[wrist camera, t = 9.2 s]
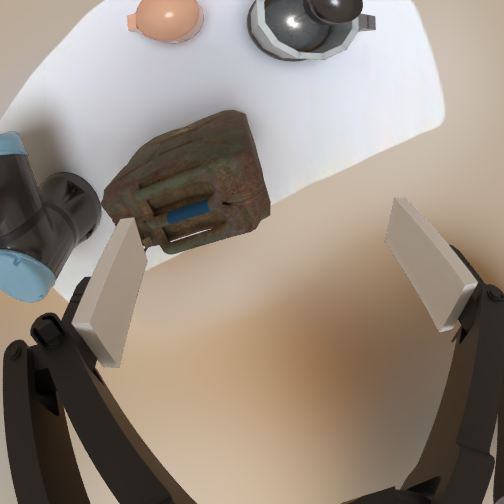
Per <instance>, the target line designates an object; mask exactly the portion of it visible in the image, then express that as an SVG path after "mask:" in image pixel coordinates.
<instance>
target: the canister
mask: <svg viewBox="0 0 504 504" xmlns="http://www.w3.org/2000/svg"><path fill="white" fill-rule="evenodd" d="M101 205H102V207H103V208H104V210H105V211H106V212H107V213H108V215H109V216H110V217H111V218H113V219H112V221H113V222H114V223H115V226H117V224H118V222H119V221H120V219H125V218H133V217H134V219H135V222H136V226H137V229H138V232H139V236H140V239H141V242H142V245H143V246H145V247H146V248H145V249H144V252H146V250H147V249H148V248H149V247H151V246H156V245H160V247H161V248H162V250H163V251H164V252H165V253H167V254H176V253H179V252H182V251H185V250H189V249H192V248H195V247H199V246H202V245H205V244H209V243H212V242H216V241H219V240H222V239H226V238H229V237H233V236H237V235H241V234H244V233H248V232H251V231H253V230H255V229H256V228H257V226H258V224H259V223H260V221H261V220H262V219H264V218H266V217H268V216H269V215H270V199H269V195H268V192H267V189H266V185H265V182H264V178H263V173H262V168H261V165H260V161H259V158H258V154H257V150H256V146H255V143H254V140H253V137H252V134H251V131H250V129H249V125H248V121H247V117H246V114H244V113H240V112H237V111H235V110H232V111H223V112H220V113H217V114H214V115H212V116H209V117H207V118H204V119H202V120H199V121H197V122H195V123H193V124H191V125H189V126H187V127H185V128H182V129H178V130H174V131H170V132H168V133H165V134H163V135H160V136H158V137H156V138H154V139H152V140H151V141H149V142H148V143H146V144H145V145H144V146H142V147H141V148H140V149H139V150H138V151H137V152H136V153H135V155H134V156H133V157H132V158H131V160H130V161H129V163H128V164H127V166H125V167H124V168H123V169H122V170H121V171H120V172H119V173H118V175H117V176H116V177H115V178H114V179H113V180H112V181H111V183H110V184H109V185H108V186H107V187H106V189H105V190H104V197H103V200H102V202H101ZM208 229H211V230H208ZM203 230H207V231H204V232H201V233H198V234H195V235H192V236H189V237H186V238H183V239H180V240H177V241H174V242H170V241H172V240H175V239H178V238H181V237H184V236H187V235H190V234H193V233H196V232H200V231H203Z"/></svg>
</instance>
